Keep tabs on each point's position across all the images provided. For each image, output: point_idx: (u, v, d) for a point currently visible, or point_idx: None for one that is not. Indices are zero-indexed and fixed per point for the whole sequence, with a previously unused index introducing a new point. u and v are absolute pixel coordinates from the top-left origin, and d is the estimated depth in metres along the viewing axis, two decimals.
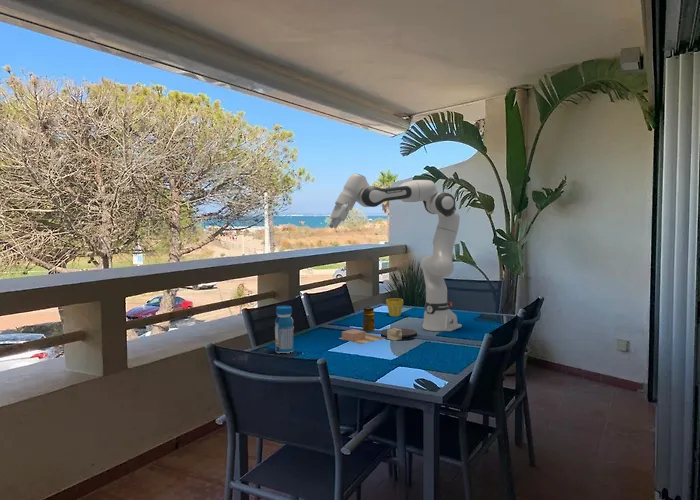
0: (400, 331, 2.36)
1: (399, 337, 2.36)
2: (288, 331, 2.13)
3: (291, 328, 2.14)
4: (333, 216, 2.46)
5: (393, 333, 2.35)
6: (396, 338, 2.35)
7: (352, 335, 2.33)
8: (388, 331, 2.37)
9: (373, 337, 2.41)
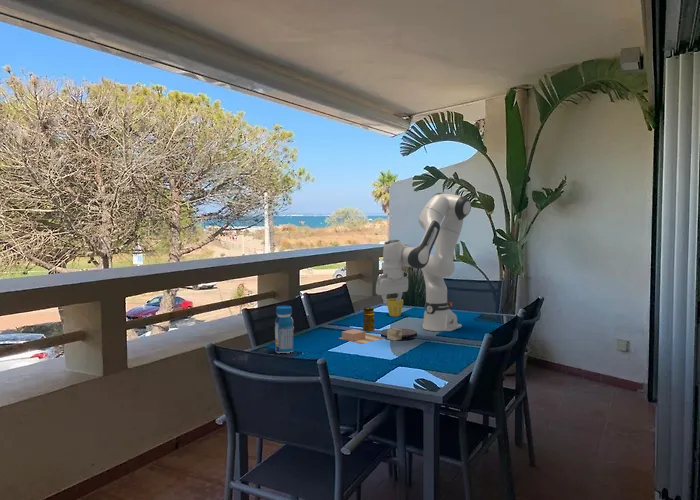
0: (400, 331, 2.36)
1: (399, 337, 2.36)
2: (288, 331, 2.13)
3: (291, 328, 2.14)
4: None
5: (393, 333, 2.35)
6: (396, 338, 2.35)
7: (352, 335, 2.33)
8: (388, 331, 2.37)
9: (373, 337, 2.41)
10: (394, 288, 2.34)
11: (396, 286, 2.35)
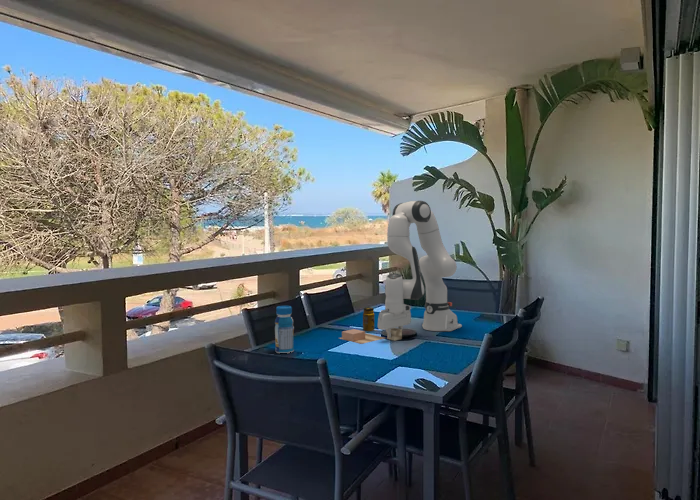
0: (400, 331, 2.36)
1: (399, 337, 2.36)
2: (288, 331, 2.13)
3: (291, 328, 2.14)
4: None
5: (393, 333, 2.34)
6: (396, 338, 2.35)
7: (352, 335, 2.33)
8: None
9: (373, 337, 2.41)
10: (396, 322, 2.35)
11: (398, 319, 2.36)
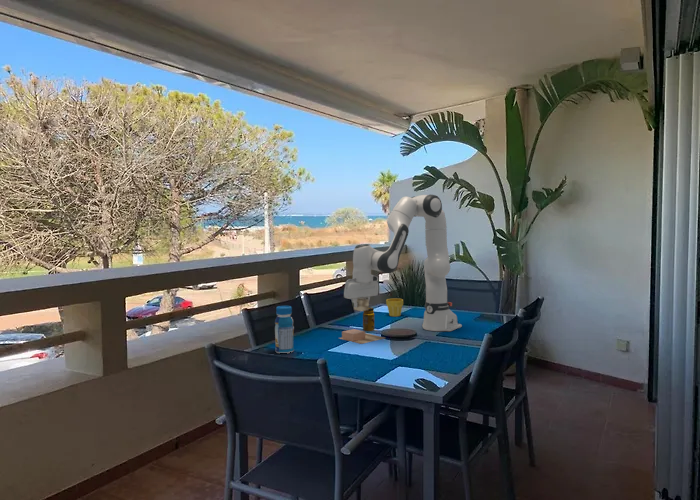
0: (367, 301, 2.36)
1: (366, 307, 2.35)
2: (288, 331, 2.13)
3: (291, 328, 2.14)
4: None
5: (359, 302, 2.34)
6: (362, 308, 2.34)
7: (352, 335, 2.33)
8: None
9: (373, 337, 2.41)
10: (362, 292, 2.35)
11: (365, 290, 2.36)
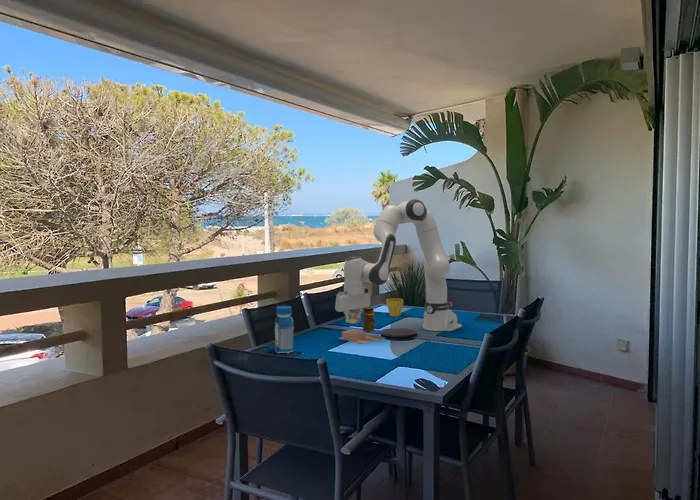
0: (358, 313, 2.37)
1: (357, 319, 2.37)
2: (288, 331, 2.13)
3: (291, 328, 2.14)
4: None
5: (351, 315, 2.35)
6: (354, 320, 2.35)
7: (352, 335, 2.33)
8: None
9: (373, 337, 2.41)
10: (354, 304, 2.36)
11: (357, 302, 2.37)
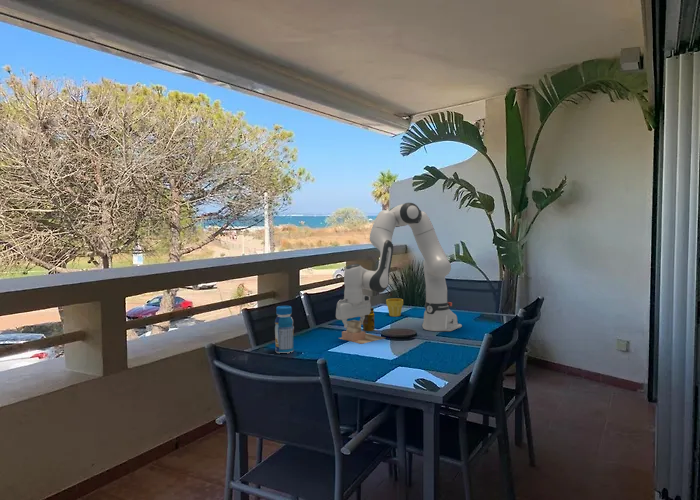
0: (359, 323, 2.37)
1: (358, 329, 2.37)
2: (288, 331, 2.13)
3: (291, 328, 2.14)
4: None
5: (352, 324, 2.35)
6: (355, 330, 2.35)
7: (352, 335, 2.33)
8: (347, 323, 2.37)
9: (373, 337, 2.41)
10: (354, 312, 2.36)
11: (357, 310, 2.37)
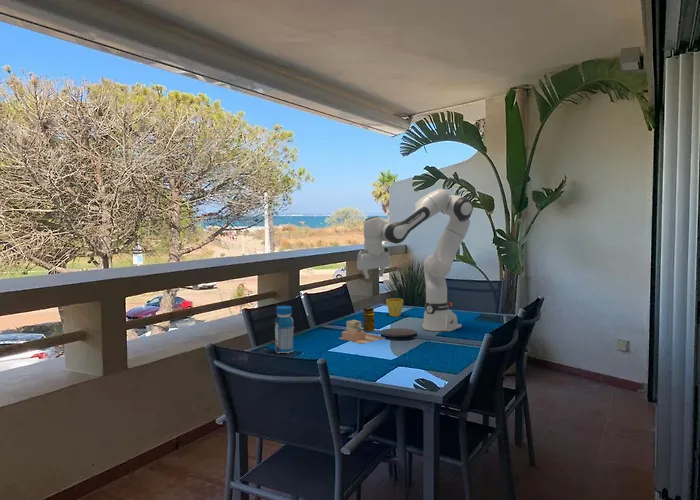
0: (359, 323, 2.37)
1: (358, 329, 2.37)
2: (288, 331, 2.13)
3: (291, 328, 2.14)
4: None
5: (352, 324, 2.35)
6: (355, 330, 2.35)
7: (352, 335, 2.33)
8: (347, 323, 2.37)
9: (373, 337, 2.41)
10: (375, 263, 2.40)
11: (377, 261, 2.41)
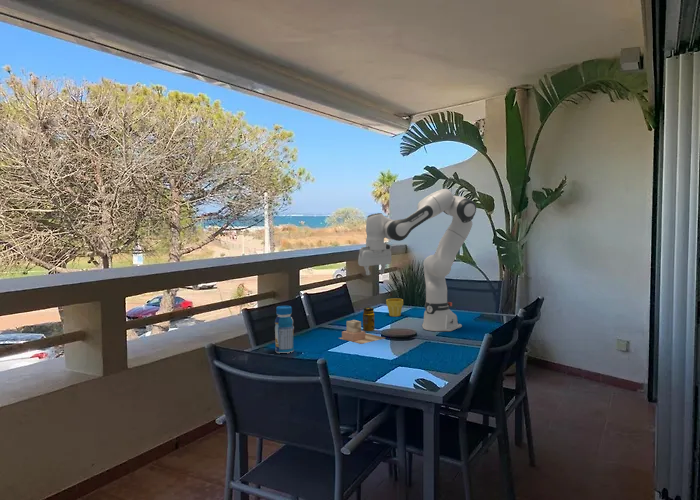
0: (359, 323, 2.37)
1: (358, 329, 2.37)
2: (288, 331, 2.13)
3: (291, 328, 2.14)
4: None
5: (352, 324, 2.35)
6: (355, 330, 2.35)
7: (352, 335, 2.33)
8: (347, 323, 2.37)
9: (373, 337, 2.41)
10: (376, 260, 2.40)
11: (379, 258, 2.41)
